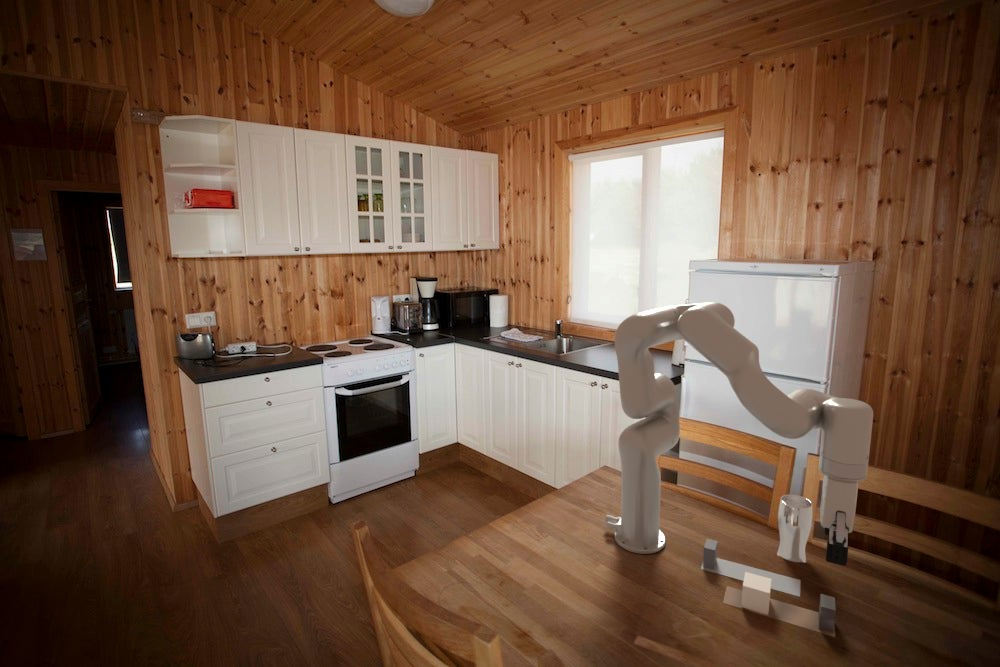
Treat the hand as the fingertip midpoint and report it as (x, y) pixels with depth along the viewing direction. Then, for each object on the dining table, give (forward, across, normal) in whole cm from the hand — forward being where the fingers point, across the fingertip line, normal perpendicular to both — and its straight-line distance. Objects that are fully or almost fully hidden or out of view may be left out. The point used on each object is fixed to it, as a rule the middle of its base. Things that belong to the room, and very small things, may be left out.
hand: (834, 548), depth 100 cm
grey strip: (+18, -10, -15) cm, 25 cm away
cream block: (+16, 0, -13) cm, 21 cm away
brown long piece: (+18, 0, -9) cm, 20 cm away
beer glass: (+18, -22, -7) cm, 29 cm away
